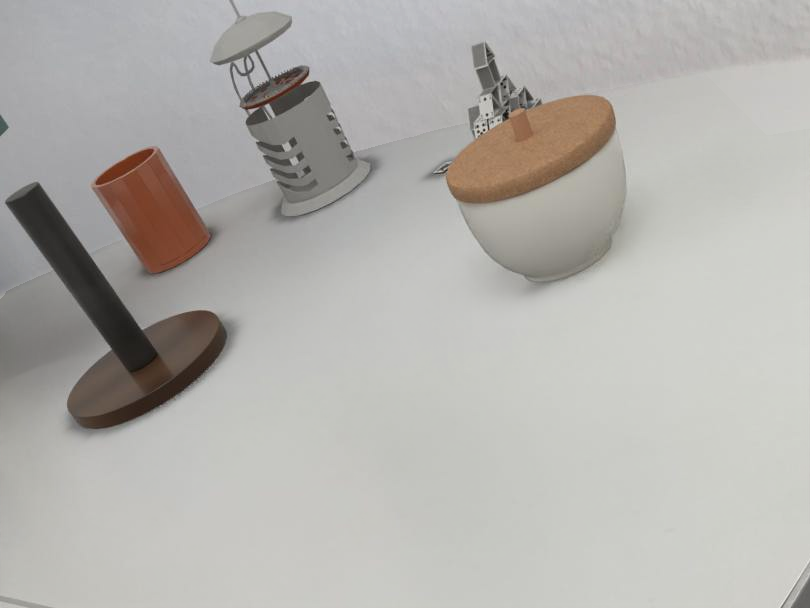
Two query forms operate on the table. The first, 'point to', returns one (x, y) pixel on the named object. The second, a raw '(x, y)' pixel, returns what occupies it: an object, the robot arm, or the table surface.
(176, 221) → the terracotta cup
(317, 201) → the french press
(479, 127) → the house of cards
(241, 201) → the table surface
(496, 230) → the trinket box
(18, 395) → the table surface
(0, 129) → the teal tall block
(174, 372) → the towel holder
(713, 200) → the table surface
